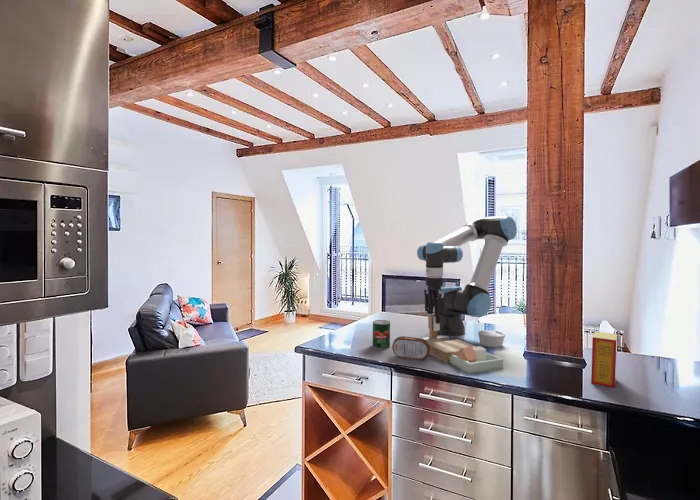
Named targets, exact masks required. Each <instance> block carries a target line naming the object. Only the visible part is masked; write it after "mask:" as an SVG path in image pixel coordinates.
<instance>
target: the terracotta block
mask: <svg viewBox="0 0 700 500" xmlns="http://www.w3.org/2000/svg"><path fill="white" fill-rule="evenodd" d="M456 354H457V356H458V357H459V358H462V359H464V360H466V361H468V362H470V363H474V362H475V361H476V360H477V359H478V357H477V355H476V354H475V352H474V350H473V348H472V347H466V348H461V349H460V350H459V351H458V352H457V353H456Z"/></svg>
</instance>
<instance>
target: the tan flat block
mask: <svg viewBox="0 0 700 500" xmlns="http://www.w3.org/2000/svg"><path fill="white" fill-rule="evenodd" d="M428 344H429V346H430V352H429V354H428V355H431V356H433V357H435V358H437V359H438V360H440V361H441V362H442V361H443V362H444V363H446V364H447V363H450V357H452V355H455V356H457V354H456V353H457V352H458V351H459V350H460V349H461V348H466V347H476V346H475V345H473V344H471V343H467V342H465V341H463V340H460V339H451V340H449V341H441V342H432V343H428Z"/></svg>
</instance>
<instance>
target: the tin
mask: <svg viewBox="0 0 700 500" xmlns="http://www.w3.org/2000/svg"><path fill="white" fill-rule="evenodd" d="M422 338H423V337H413V336H412V337H411V336H405V335H404V336H403V335H401V336H398V337H396V338H395V339H394V340H393V343H392V352H393V353H394V355H396V356H397V357H398V358H401V359H409V360H410V359H411V360H419V361H421V360H424V359H426V358H427V357H428V355H430V354H429V352H430V346H429V344H428V342H427V341H426V340H424V339H422Z"/></svg>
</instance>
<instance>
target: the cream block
mask: <svg viewBox="0 0 700 500" xmlns="http://www.w3.org/2000/svg"><path fill="white" fill-rule="evenodd" d="M472 348H473V350H474V352H475V354H476V355H477V357H478V359H477V360H476V361H475V362H480V361H486V352H487V349H486V348H485V347H482V346H478V345H477V346H475V347H472Z"/></svg>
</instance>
